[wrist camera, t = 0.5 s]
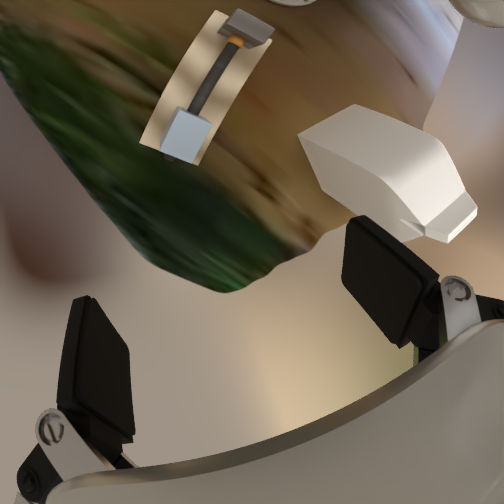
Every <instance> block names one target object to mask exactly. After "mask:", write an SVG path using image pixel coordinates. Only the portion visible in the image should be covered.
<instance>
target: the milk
mask: <svg viewBox="0 0 504 504" xmlns="http://www.w3.org/2000/svg"><path fill="white" fill-rule="evenodd" d="M297 136H298V138H299V140H300V142H301V145H302V147H303V149H304V151H305V153H306V155H307V157H308V160H309V162H310V164H311V166H312V168H313V171H314V173H315V175H316V177H317V180H318V182H319V184H320V187H321V189H322V191H324V192H325V193H327V194H328V195H330V196H331V197H332V198H334V199H335V200H337V201H338V202H340V203H341V204H342V205H344V206H345V207H347V208H348V209H349V210H351V211H352V212H354V213H355V214H356V215H358V216H361V215H366V216H367V217H369V218H370V219H371V220H373V221H374V222H375V223H377V224H378V225H379V226H381V227H382V228H383V229H385V230H386V231H387V232H389V233H390V234H391V235H392V236H394V237H395V238H396V239H397V240H399V241H400V242H401V243H402V242H405V241H408V240H411V239H414V238H417V237H421V236H423V235H425V236H427V237H430V238H433V239H436V240H439V241H442V242H445V243H449V241H451V240H452V239H453V238H454V237H455V236H456V235H457V234H458V233H459V232H460V231H461V230H463V229H464V228H465V226H467V225H468V224H469V223H470V222H471V221H472V220H473V219H474V218H475V217H476V216H477V205H476V204H475V202H474V201H473V200H472V198H471V197H470V196H469V194H468V193H467V192H466V191H465V188H464V185H463V183H462V181H461V178H460V176H459V174H458V172H457V170H456V168H455V166H454V164H453V162H452V160H451V157H450V156H449V154H448V152H447V150H446V149H445V147H444V146H443V144H442V143H441V142H440V141H439V140H438V139H437V138H435V137H434V136H432V135H429V134H427V133H425V132H423V131H421V130H419V129H417V128H415V127H412V126H410V125H408V124H406V123H403V122H401V121H399V120H396V119H394V118H391V117H389V116H386V115H384V114H381V113H379V112H376V111H373V110H371V109H368V108H365V107H362V106H359V105H356V104H353V105H351V106H349V107H347V108H345V109H344V110H342V111H340V112H338V113H336V114H334V115H332V116H330V117H328V118H326V119H325V120H323V121H321V122H319V123H317V124H315V125H314V126H312V127H310V128H308V129H307V130H305V131H303V132H301V133H299V134H298V135H297Z"/></svg>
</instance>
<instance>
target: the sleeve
mask: <svg viewBox="0 0 504 504" xmlns="http://www.w3.org/2000/svg"><path fill="white" fill-rule="evenodd" d="M211 126H212V123H211V122H209V121H208V120H207V119H206V118H205V117H203V116H200V115H198V116H197V115H195V114H193V113H190V112H188V111H187V109H184V108H182V107H180V106H177V107H176V109H175V111H174V113H173V115H172V117H171V119H170V121H169V123H168V125H167V127H166V129H165V131H164V133H163V135H162V137H161V139H160V149H159V151H161V152H163V153H166V154H168V155H171V156H174V157H176V158H179V159H181V160H184V161H186V162H189V163H191V164H192V162H193V160H194V158H195V156H196V155H197V153H198V151H199V149H200V147H201V145H202V143H203V141H204V139H205V137H206V135H207V134H208V132H209V130H210V128H211Z"/></svg>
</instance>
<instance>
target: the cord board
mask: <svg viewBox="0 0 504 504" xmlns="http://www.w3.org/2000/svg"><path fill="white" fill-rule="evenodd" d="M274 30H275V29H274V28H273V27H271V26H270V25H268V24H266V23H265V22H263V21H261V20H259V19H258V18H256V17H254V16H252V15H250V14H249V13H247V12H245V11H243V10H241V9H239V8H238V9H237V10H235V11H234V12H233V13H232V14H231V15H230V16H227V15H225V14H223V13H221V12H219V11H217V10H215V11H214V13H213V14H212V15H211V17H210V18H209V19H208V21H207V22H206V24H205V25H204V26H203V28H202V29H201V31H200V32H199V34H198V35H197V37H196V38H195V40H194V41H193V43H192V44H191V46H190V47H189V49H188V51H187V52H186V54H185V55H184V57H183V59H182V60H181V62H180V64H179V65H178V67H177V69H176V70H175V72H174V74H173V76H172V77H171V79H170V81H169V83H168V85H167V86H166V88H165V90H164V92H163V94H162V96H161V98H160V100H159V102H158V104H157V106H156V108H155V110H154V112H153V114H152V116H151V118H150V120H149V122H148V124H147V126H146V129H145V131H144V133H143V135H142V137H141V140H140V142H139V143H141V144H143V145H146V146H149V147H151V148H154V149H157V150H159V149H160V139H161V137H162V135H163V133H164V131H165V129H166V127H167V125H168V123H169V121H170V119H171V117H172V115H173V113H174V111H175V109H176V107H177V106H180V107H182V108H184V109H187V111H188V112H190V113H193V114H195V115H197V116H198V115H200V116H203V117H205V118H206V119H207V120H208V121H209V122H211V123H212V126H211V128H210V130H209V132H208V134H207V135H206V137H205V139H204V141H203V143H202V145H201V147H200V149H199V151H198V153H197V155H196V156H195V158H194V160H193V162H192V163H193V164H195V165H199V163H200V161H201V159H202V157H203V155H204V153H205V151H206V149H207V147H208V145H209V144H210V142H211V140H212V138H213V136H214V134H215V133H216V131H217V129H218V127H219V125H220V124H221V122H222V120H223V118H224V116H225V115H226V113H227V111H228V110H229V108H230V106H231V104H232V103H233V101H234V99H235V98H236V96H237V94H238V93H239V91H240V89H241V88H242V86H243V85H244V83H245V81H246V80H247V78H248V77H249V75H250V74H251V72H252V70H253V69H254V67H255V66H256V64H257V63H258V61H259V60H260V58H261V57H262V55H263V54H264V52H265V51H266V49H267V48H268V46H269V45H270V44H271V42H272V40H271V39H269V37H270V35H271V34H272V33H273V31H274ZM164 159H166V160H168V161H170V162H175V160H176V157H174V156H171V155H168V154H166V153H165V155H164Z"/></svg>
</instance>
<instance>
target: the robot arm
mask: <svg viewBox="0 0 504 504" xmlns="http://www.w3.org/2000/svg"><path fill="white" fill-rule="evenodd" d="M268 1H271V2H273V3H276V4H279V5H284V6H304V5H307V4H310V3H312V2H314V1H316V0H268ZM449 1H450V3H451V4H452V5H453V7H454V8H455V9H456V10H457V11H458V12H459V13H460V14H461V15H462V16H464V17H465V18H466V19H468V20H469V21H471V22H473V23H476V24H478V25H481V26H485V27H492V28H504V0H449ZM439 276H440V275H439V274H438V273H436V272H435V271H434V270H433V269H432V268H431V267H430V266H429V265H427V264H426V263H425V262H424V261H423V260H422V259H420V258H419V257H418V256H417V255H416V254H414V253H413V252H412V251H411V250H410V249H409V248H407V247H406V246H405V245H403V244H402V243H401V242H400V241H399V240H397V239H396V238H395V237H394V236H392V235H391V234H390V233H389V232H387V231H386V230H385V229H383V228H382V227H381V226H379V225H378V224H377V223H375V222H374V221H373V220H371V219H370V218H369V217H367V216H366V215H361V216H357V217H354V218H351V219H350V221H349V223H348V224H347V226H346V236H345V247H344V257H343V267H342V275H341V279H342V283H343V285H344V286H345V288H346V289H347V290H348V291H349V292H350V293H351V295H352V296H353V297H354V298H355V299H356V300H357V302H358V303H359V304H360V305H361V306H362V308H363V309H364V310H365V311H366V312H367V314H368V315H369V316H370V317H371V319H372V320H373V321H374V322H375V323H376V325H377V326H378V327H379V328H380V330H381V331H382V332H383V333H384V335H385V336H386V337H387V338H388V340H389V341H390V342H391V343H393V344H396V345H397V346H398V348H399V349H400V348H402V347H403V346H405V345H407V344H408V343H409V342H410V341H411V342H412V343H413V344H414V358H413V367H412V368H411V369H409V370H408V371H407V372H405V373H403V374H402V375H400V376H399V377H397V378H395V379H394V380H392V381H390V382H389V383H387V384H386V385H384V386H382V387H380V388H379V389H377V390H375V391H374V392H372V393H370V394H368V395H367V396H365V397H363V398H361V399H359V400H357V401H355V402H353V403H352V404H350V405H348V406H346V407H344V408H342V409H340V410H337V411H335V412H333V413H331V414H329V415H327V416H325V417H323V418H320V419H318V420H316V421H314V422H311V423H309V424H306V425H304V426H302V427H299V428H297V429H294V430H292V431H289V432H286V433H284V434H281V435H278V436H275V437H273V438H270V439H267V440H264V441H261V442H258V443H255V444H251V445H248V446H245V447H241V448H238V449H234V450H231V451H227V452H223V453H219V454H215V455H211V456H207V457H202V458H198V459H192V460H187V461H181V462H175V463H169V464H163V465H156V466H149V467H138V466H137V465H136V464H135V463H134V462H133V461H132V460H130V458H129V457H127V456H126V455H125V454H124V453H123V450H122V444H127V443H133V437H132V435H135V422H134V414H133V404H132V392H131V377H130V357H129V355H130V354H129V349H128V347H127V345H126V343H125V342H124V340H123V339H122V338H121V336H120V335H119V334H118V332H117V331H116V329H115V328H114V326H113V325H112V323H111V322H110V320H109V319H108V318H107V316H106V314H105V313H104V311H103V310H102V308H101V307H100V305H99V304H98V302H97V300H96V299H95V298H91V297H90V296H88V295H87V296H83V297H80V298H77V299H74V300H73V302H72V306H71V310H70V315H69V319H68V324H67V329H66V334H65V339H64V345H63V350H62V357H61V363H60V371H59V379H58V389H57V401H56V402H57V409H54V408H53V409H52V408H50V409H47V410H45V411H44V412H43V413H41V415H40V416H39V418H38V420H37V422H36V428H35V432H36V438H37V440H38V442H39V443H38V444H37V445H36V446H35V448H34V449H33V451H32V452H31V453H30V455H29V456H28V457H27V458H26V460H25V461H24V462H23V464H22V465H21V467H20V468H19V470H18V473H17V484H18V488H19V490H20V492H21V493H19V492H17V495H16V499H15V503H14V504H504V301H503V300H500V299H495V298H490V297H485V296H480V295H476V294H475V293H474V291H473V288H472V286H470V284H469V283H468V282H467V281H466V280H464V279H462V278H460V277H458V276H447V277H445V278H444V279H442V281H441V284H440V283H439V282H438V278H439Z"/></svg>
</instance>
